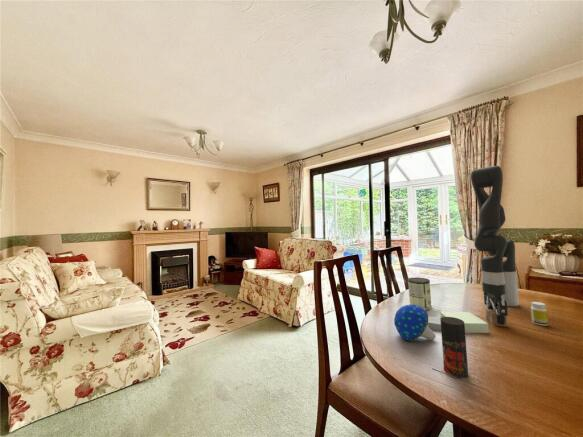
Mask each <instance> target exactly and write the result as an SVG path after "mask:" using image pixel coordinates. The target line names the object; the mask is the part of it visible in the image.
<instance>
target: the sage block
mask: <svg viewBox="0 0 583 437" xmlns="http://www.w3.org/2000/svg"><path fill="white" fill-rule="evenodd" d="M439 314H440V315H439V316H440V317H439V318H442V317H454V318H458V319H461V320H462V321H464V324H465V334H467V333H470V334H471V333H472V334H473V333H474V334H475V333H477V334H478V333H479V334H489V324H488V323H489V322H488V323H487V322H486V321H484V319H483V320H482V319H481V318H479V317H478V316H477V315H475V314H473V313H471V312H469V311H461V312H460V311H456V312H455V311H454V312H453V311H439Z"/></svg>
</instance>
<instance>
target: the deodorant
mask: <svg viewBox="0 0 583 437" xmlns="http://www.w3.org/2000/svg"><path fill="white" fill-rule="evenodd" d="M439 318H440V320H441V331H440V332H441V345H442V346H441V348H442V349H441V350H442V360H443V361H442V362H443V363H442V364H443V370H444V372H445V373H446V374H448V375H449V376H451V377H454V378H456V379H467V378H468V377H469V369H468V367H469V366H468V352H467V339H466V338H467V337H466V333H465V324H464V321H462V320H461V319H458V318H454V317H442V318H441V317H439Z"/></svg>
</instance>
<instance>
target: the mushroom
mask: <svg viewBox="0 0 583 437" xmlns="http://www.w3.org/2000/svg"><path fill="white" fill-rule="evenodd" d="M428 316H429V314H428V313H427V311H426V310H424V309H423V308H422V307H420V306H417V305H410V304H405V305H402V306H401V307H399V309H397V310H396V312H395V314H394V319H393V320H394V326H395V328H396V330H397V333H398V334H399V336H400V337H401V338H402V339H403V340H404V341H406V340H407V341H411V342H414V341H416V340H417V339H419V338H420V337H421V338H425V339H427V340H429V341H434V340H435V339H436V337H437V336H436V333H434V331H433V330H432V329H430V328H429V326H428V325H427V324H428Z"/></svg>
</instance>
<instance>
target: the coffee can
mask: <svg viewBox="0 0 583 437" xmlns="http://www.w3.org/2000/svg"><path fill="white" fill-rule="evenodd" d="M407 281H408V282H407V283H408V297H409V305H417V306H420V307H422V308H423V309H424V310H425V311H426V310H430V309H433V308H432V297H431V295H432V294H431V285H430V284H431V283H430V282H431V280H430V279H429V278H425V277H419V276H418V277H408V278H407Z"/></svg>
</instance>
